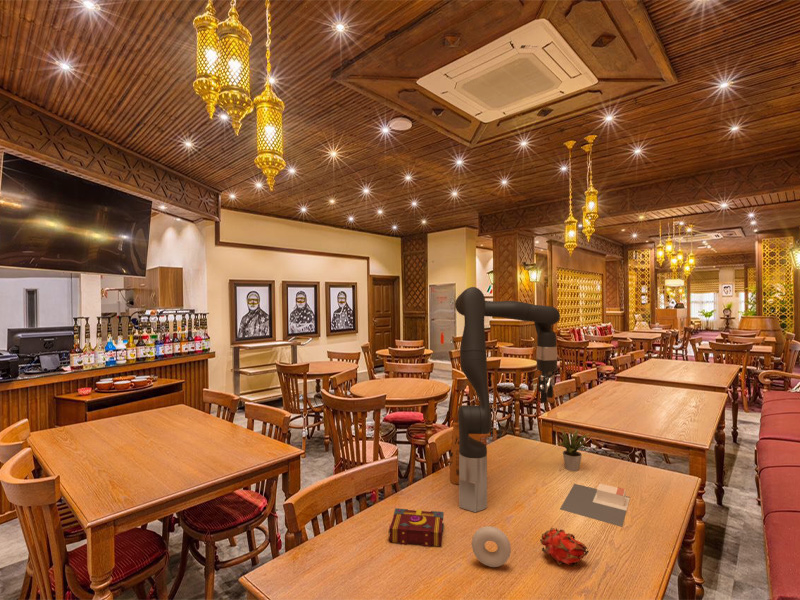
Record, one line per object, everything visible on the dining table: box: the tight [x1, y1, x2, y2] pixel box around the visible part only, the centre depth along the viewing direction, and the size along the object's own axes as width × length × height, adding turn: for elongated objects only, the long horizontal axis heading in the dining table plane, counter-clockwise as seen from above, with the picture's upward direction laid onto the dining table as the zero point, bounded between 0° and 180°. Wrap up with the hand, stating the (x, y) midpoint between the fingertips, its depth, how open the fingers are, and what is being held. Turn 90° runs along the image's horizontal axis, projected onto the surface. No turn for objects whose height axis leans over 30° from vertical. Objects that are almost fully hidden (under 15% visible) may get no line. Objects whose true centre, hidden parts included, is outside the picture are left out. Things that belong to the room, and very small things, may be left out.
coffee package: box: [449, 422, 482, 485], centre depth 154 cm, size 10×12×22 cm
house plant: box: [555, 427, 590, 472], centre depth 162 cm, size 14×14×16 cm
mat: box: [559, 483, 631, 528], centre depth 135 cm, size 22×18×1 cm
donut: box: [471, 525, 512, 568], centre depth 105 cm, size 10×4×10 cm, turn 75°
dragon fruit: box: [540, 527, 589, 567], centre depth 106 cm, size 8×8×12 cm
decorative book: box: [388, 507, 445, 548], centre depth 119 cm, size 11×16×5 cm
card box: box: [596, 483, 627, 507], centre depth 137 cm, size 8×6×4 cm
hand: (547, 399), depth 156 cm, fingers open, 8 cm apart
